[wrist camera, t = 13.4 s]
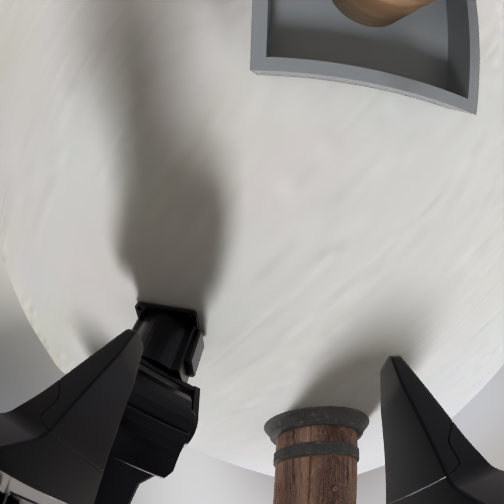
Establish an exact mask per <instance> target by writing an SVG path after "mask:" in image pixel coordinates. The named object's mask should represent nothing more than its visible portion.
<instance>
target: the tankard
mask: <svg viewBox="0 0 504 504" xmlns="http://www.w3.org/2000/svg"><path fill="white" fill-rule="evenodd" d="M368 424H369V418H368V416H367V415H366V414H364V413H363V412H361V411H358V410H355V409H351V408H345V407H333V406H327V407H309V408H302V409H296V410H292V411H288V412H284V413H282V414H279V415H276V416H274V417H273V418H271V419H270V420H268V421H267V422H266V424H265V426H264V430H265V432H266V434H267V435H269V437H270V439H271V441H272V442H273V443H274V444H275V445H276V452H275V453H274V466H275V484H274V500H273V504H356V490H357V462H358V461H359V449H358V447H357V440H359V439H360V437H361V436H362V435H363V432H364V430H365V429H366V428H367V426H368Z"/></svg>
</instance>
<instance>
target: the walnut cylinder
mask: <svg viewBox="0 0 504 504" xmlns="http://www.w3.org/2000/svg"><path fill="white" fill-rule="evenodd" d="M332 1H333V3H334V5H335V6H336V7H337V9H338V10H339V11H340V12H341V13H343V14H344V15H345V16H346V17H348V18H349V19H351V20H353V21H355V22H357V23H359V24H362V25H365V26H369V27H385V26H389V25H391V24H393V23H395V22H397V21H398V20H400V19H402V18H404V17H405V16H407V15H409V14H411V13H413V12H414V11H416V10H418V9H420V8H422V7H424V6H426V5H428V4H430V3H432V2H434V1H436V0H332Z"/></svg>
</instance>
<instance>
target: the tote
mask: <svg viewBox="0 0 504 504" xmlns="http://www.w3.org/2000/svg"><path fill="white" fill-rule="evenodd" d="M479 64H480V51H479V27H478V15H477V6H476V0H436V1H434V2H432V3H430V4H428V5H426V6H424V7H422V8H420V9H418V10H416V11H414V12H413V13H411V14H409V15H407V16H405V17H404V18H402V19H400V20H398V21H397V22H395V23H393V24H391V25H389V26H385V27H369V26H365V25H362V24H359V23H357V22H355V21H353V20H351V19H349V18H348V17H346V16H345V15H344V14H343V13H341V12H340V11H339V10H338V9H337V7H336V6H335V5H334V3H333V1H332V0H252V28H251V58H250V71H252V72H254V73H255V74H257V75H277V76H292V77H303V78H313V79H322V80H330V81H337V82H343V83H350V84H355V85H361V86H366V87H371V88H376V89H381V90H385V91H390V92H394V93H398V94H402V95H406V96H410V97H413V98H417V99H420V100H424V101H427V102H430V103H434V104H437V105H440V106H443V107H446V108H449V109H453V110H458V111H462V112H467V113H471V114H475V115H476V113H477V103H478V90H479Z"/></svg>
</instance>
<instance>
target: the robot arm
mask: <svg viewBox="0 0 504 504" xmlns="http://www.w3.org/2000/svg"><path fill="white" fill-rule="evenodd" d="M135 309H136V312H137V316H138V320H137V321H136V323H135V325H134V327H133V328H132V330H131V329H127V330H125V331H124V332H122V333H121V334H120V335H118V336H117V337H116V338H114V339H113V340H112V341H110V342H109V343H108V344H106V345H105V346H104V347H102V348H101V349H100V350H98V351H97V352H95V353H94V354H93V355H91V356H90V357H89V358H87V359H86V360H85V361H83V362H82V363H81V364H79V365H78V366H77V367H75V368H74V369H73V370H71V371H70V372H69V373H67V374H66V375H65V376H63V377H62V378H61V379H60V380H58V381H57V382H55V383H54V384H53V385H51V386H50V387H49V388H47V389H46V390H44V391H43V392H41V393H40V394H38V395H37V396H35V397H34V398H32V399H30V400H29V401H27V402H25V403H24V404H22V405H20V406H19V407H17V408H15V409H14V410H12V411H9V412H6V413H0V504H130V503H131V501H132V499H133V496H134V494H135V492H136V490H137V488H138V486H139V484H140V483H142V482H144V481H146V480H148V479H150V478H152V477H154V476H157V477H160V478H165V477H166V476H168V475H169V474H170V473H171V472H172V471H173V470H174V467H175V464H176V461H177V459H178V457H179V454H180V452H181V450H182V448H183V447H185V446H186V445H187V444H188V443H189V442H190V440H191V439H192V437H193V435H194V433H195V431H196V428H197V424H198V412H199V397H200V388H198V387H196V386H192V385H190V384H188V383H187V381H188V378H189V377H194V376H195V374H196V371H197V367H198V364H199V361H200V358H201V354H202V351H203V348H204V343H203V336H202V331H201V330H200V329H199V325H198V317H197V313H196V312H195V311H193V310H187V309H180V308H173V307H166V306H160V305H154V304H147V303H141V302H138V303H137V304H136V306H135ZM191 315H192V316H191ZM380 378H381V417H382V427H383V439H384V452H385V470H386V504H504V471H502V470H499V469H497V468H495V467H493V466H491V465H490V464H489V463H488V462H487V461H486V460H485V459H484V457H483V456H482V455H481V454H480V453H479V452H478V451H477V450H476V449H475V448H474V447H473V446H472V444H471V443H470V442H469V441H468V440H467V439H466V438H465V436H464V435H463V434H462V433H461V431H460V430H459V429H458V428H457V426H456V425H455V424H454V422H452V420H451V419H450V417H449V416H448V415H447V413H446V412H445V411H444V409H443V408H442V407H441V406H440V404H439V403H438V402H437V400H436V399H435V398H434V397H433V395H432V394H431V393H430V392H429V390H428V389H427V388H426V387H425V385H424V384H423V383H422V382H421V380H420V379H419V378H418V377H417V376H416V374H415V373H414V372H413V371H412V369H411V368H410V367H409V366H408V365H407V363H406V362H405V361H404V360H403V359H402V357H400V356H398V355H397V356H389V357H388V359H387V360H386V362H385V364H384V366H383V367H382V369H381V374H380Z"/></svg>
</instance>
